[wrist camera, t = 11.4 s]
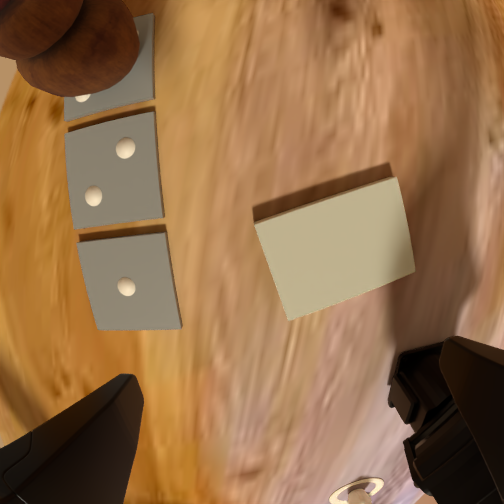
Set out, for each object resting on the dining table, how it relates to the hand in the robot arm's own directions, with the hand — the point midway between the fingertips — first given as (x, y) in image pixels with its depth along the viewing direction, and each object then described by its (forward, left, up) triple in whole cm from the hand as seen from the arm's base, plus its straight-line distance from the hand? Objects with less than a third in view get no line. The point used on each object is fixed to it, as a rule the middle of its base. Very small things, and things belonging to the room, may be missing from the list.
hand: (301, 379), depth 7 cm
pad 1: (+10, -14, -13) cm, 22 cm away
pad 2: (+10, -6, -13) cm, 18 cm away
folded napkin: (-5, 0, -13) cm, 14 cm away
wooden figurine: (+10, -14, -13) cm, 22 cm away
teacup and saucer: (-8, +38, -14) cm, 41 cm away
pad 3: (+10, +2, -13) cm, 16 cm away
